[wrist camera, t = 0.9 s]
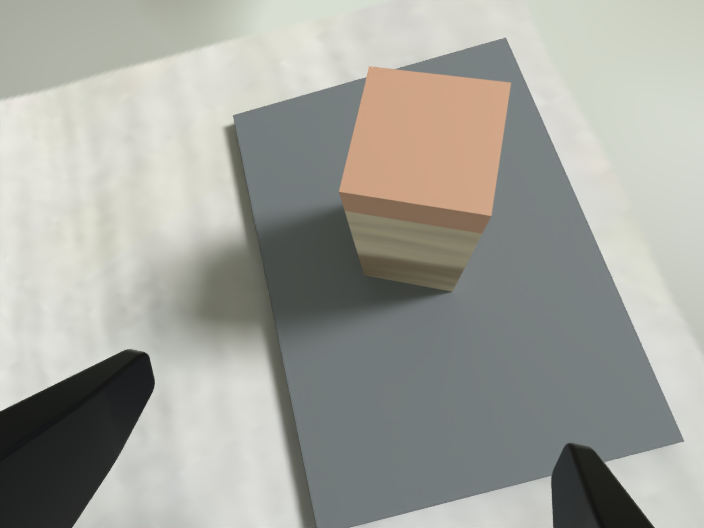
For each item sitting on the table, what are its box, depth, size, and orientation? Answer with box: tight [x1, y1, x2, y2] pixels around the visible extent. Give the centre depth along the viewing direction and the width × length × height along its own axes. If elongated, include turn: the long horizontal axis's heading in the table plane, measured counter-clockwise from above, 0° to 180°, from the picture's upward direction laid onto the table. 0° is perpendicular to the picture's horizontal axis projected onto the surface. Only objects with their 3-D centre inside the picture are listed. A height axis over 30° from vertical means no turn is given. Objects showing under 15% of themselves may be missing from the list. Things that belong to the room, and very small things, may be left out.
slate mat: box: [233, 38, 684, 528], centre depth 24 cm, size 22×16×1 cm
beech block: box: [339, 67, 511, 292], centre depth 19 cm, size 4×4×10 cm
